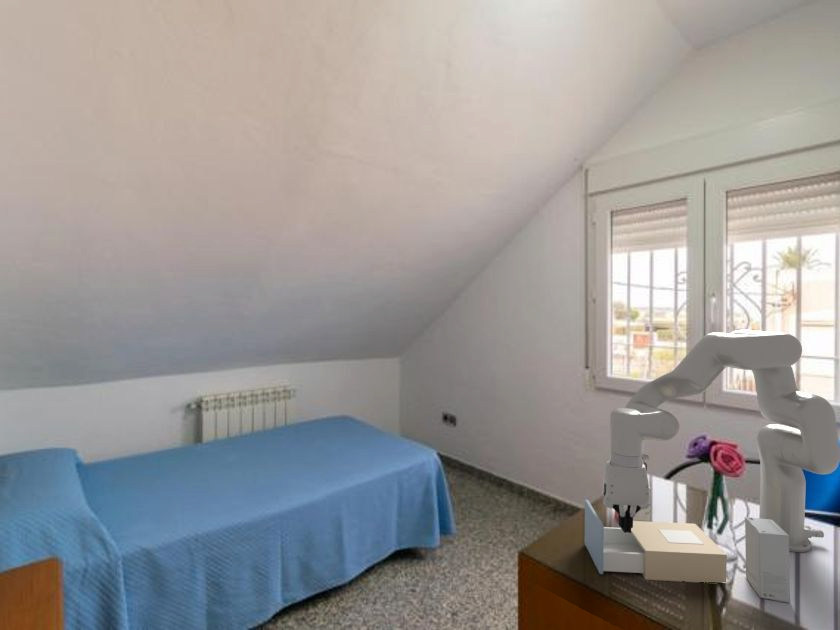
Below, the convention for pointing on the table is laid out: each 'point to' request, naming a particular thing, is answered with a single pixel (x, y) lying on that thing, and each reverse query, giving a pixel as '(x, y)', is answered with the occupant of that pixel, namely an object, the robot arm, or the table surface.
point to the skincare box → (767, 559)
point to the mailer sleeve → (679, 552)
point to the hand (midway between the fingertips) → (625, 529)
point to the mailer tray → (611, 546)
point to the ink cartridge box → (640, 512)
